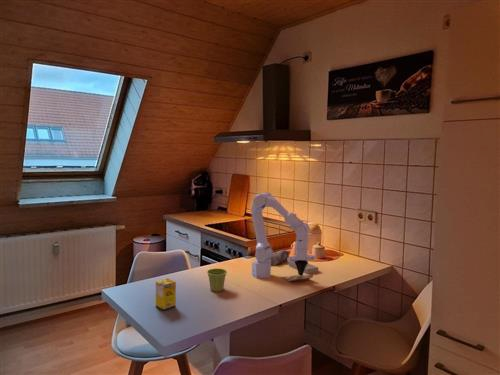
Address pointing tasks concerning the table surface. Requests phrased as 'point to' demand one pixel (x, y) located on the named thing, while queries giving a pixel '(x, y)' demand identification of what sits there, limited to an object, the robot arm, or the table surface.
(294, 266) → the brick
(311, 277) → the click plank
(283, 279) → the laid board
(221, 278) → the plant pot
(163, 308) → the supplement box
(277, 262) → the decorative bottle
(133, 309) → the table surface
